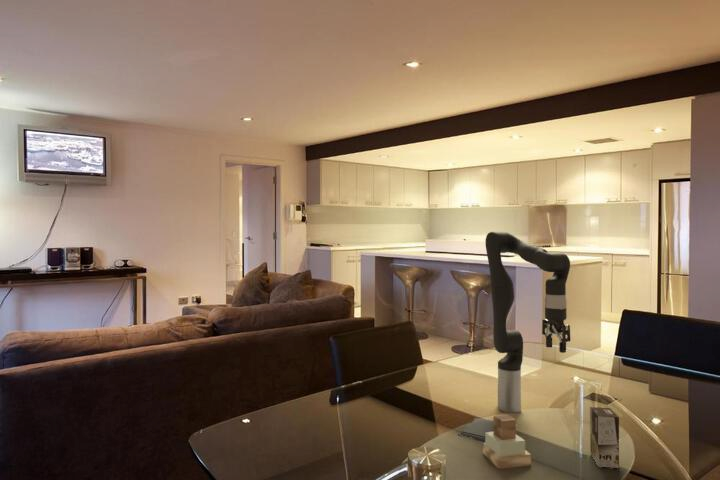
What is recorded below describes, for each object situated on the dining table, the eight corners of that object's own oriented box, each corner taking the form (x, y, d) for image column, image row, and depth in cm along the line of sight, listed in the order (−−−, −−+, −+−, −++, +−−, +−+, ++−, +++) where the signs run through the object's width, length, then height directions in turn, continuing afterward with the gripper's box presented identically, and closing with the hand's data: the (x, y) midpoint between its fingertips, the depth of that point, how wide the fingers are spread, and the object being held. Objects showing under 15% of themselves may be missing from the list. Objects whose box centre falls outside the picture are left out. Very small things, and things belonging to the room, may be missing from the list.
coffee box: (620, 469, 147) (619, 417, 147) (597, 467, 148) (597, 415, 148) (610, 456, 156) (610, 407, 156) (589, 454, 157) (589, 406, 157)
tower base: (483, 454, 159) (483, 442, 159) (513, 452, 161) (513, 440, 161) (498, 470, 148) (498, 457, 148) (531, 467, 150) (531, 454, 150)
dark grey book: (475, 415, 190) (513, 423, 182) (475, 419, 190) (513, 428, 182) (454, 431, 174) (495, 441, 165) (454, 436, 174) (495, 446, 165)
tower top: (485, 444, 158) (485, 432, 158) (509, 441, 160) (509, 429, 160) (499, 456, 149) (499, 443, 149) (525, 453, 151) (525, 440, 151)
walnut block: (493, 433, 156) (493, 415, 156) (506, 432, 158) (506, 414, 158) (502, 440, 151) (502, 421, 151) (515, 438, 153) (515, 419, 153)
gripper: (535, 304, 184) (536, 346, 184) (557, 309, 170) (558, 354, 170) (553, 303, 186) (553, 345, 186) (576, 308, 172) (576, 353, 172)
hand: (555, 349), depth 178 cm, fingers open, 8 cm apart
